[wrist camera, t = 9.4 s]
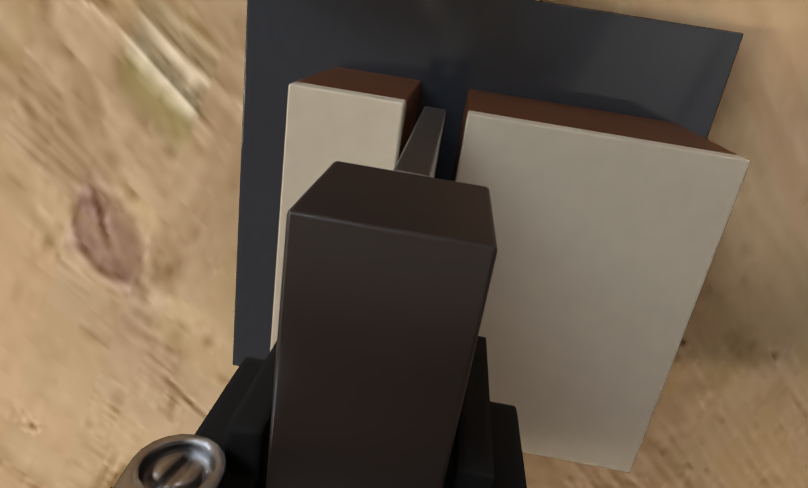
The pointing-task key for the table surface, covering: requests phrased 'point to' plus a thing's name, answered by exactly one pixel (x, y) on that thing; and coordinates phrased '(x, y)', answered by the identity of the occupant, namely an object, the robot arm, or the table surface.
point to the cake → (590, 263)
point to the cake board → (451, 87)
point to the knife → (378, 321)
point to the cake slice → (340, 134)
